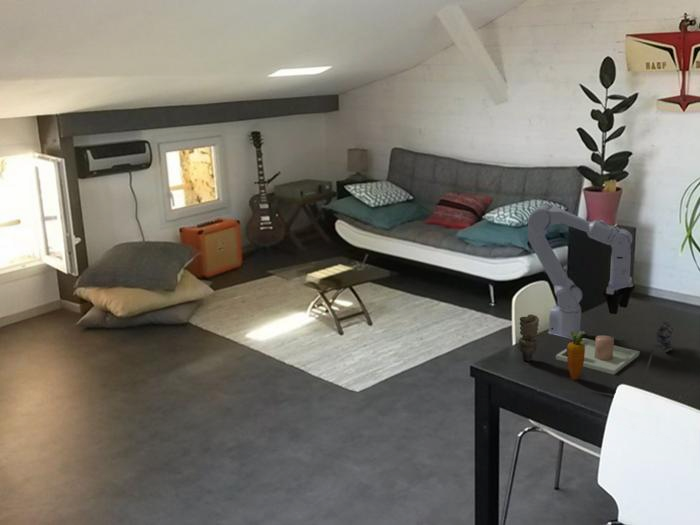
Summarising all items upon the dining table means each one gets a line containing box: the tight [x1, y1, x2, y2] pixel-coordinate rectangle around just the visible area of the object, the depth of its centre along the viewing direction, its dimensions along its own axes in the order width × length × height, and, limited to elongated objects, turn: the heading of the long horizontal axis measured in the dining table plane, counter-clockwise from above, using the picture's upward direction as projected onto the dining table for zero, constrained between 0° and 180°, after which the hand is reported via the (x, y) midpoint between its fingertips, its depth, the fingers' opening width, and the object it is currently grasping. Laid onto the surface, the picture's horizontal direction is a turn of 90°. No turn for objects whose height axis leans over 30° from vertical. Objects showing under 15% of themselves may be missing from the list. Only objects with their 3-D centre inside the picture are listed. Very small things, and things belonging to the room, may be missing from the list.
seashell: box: [655, 320, 676, 353], centre depth 221 cm, size 5×5×10 cm
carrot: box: [566, 331, 585, 381], centre depth 202 cm, size 5×5×15 cm
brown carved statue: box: [518, 314, 540, 362], centre depth 216 cm, size 6×6×15 cm
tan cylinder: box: [594, 335, 615, 361], centre depth 217 cm, size 5×5×6 cm
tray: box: [555, 337, 640, 375], centre depth 218 cm, size 18×18×2 cm
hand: (618, 310), depth 229 cm, fingers open, 7 cm apart
